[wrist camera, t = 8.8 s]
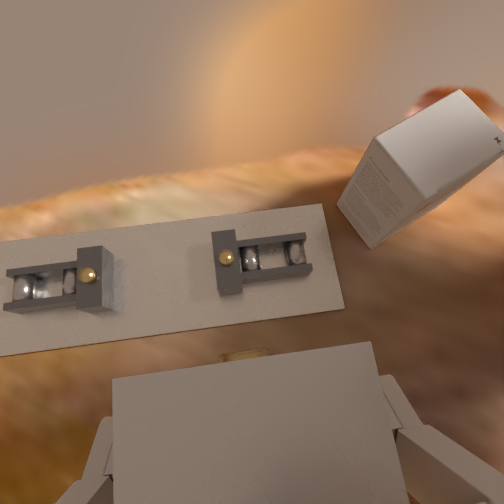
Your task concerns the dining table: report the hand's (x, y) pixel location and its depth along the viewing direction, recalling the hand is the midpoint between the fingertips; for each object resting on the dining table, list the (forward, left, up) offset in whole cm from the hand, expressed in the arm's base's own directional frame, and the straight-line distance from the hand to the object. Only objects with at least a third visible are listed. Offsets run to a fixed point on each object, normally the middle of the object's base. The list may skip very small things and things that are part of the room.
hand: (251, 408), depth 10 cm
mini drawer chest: (0, +1, -5) cm, 5 cm away
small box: (-15, -13, -19) cm, 27 cm away
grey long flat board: (+6, -9, -19) cm, 22 cm away
